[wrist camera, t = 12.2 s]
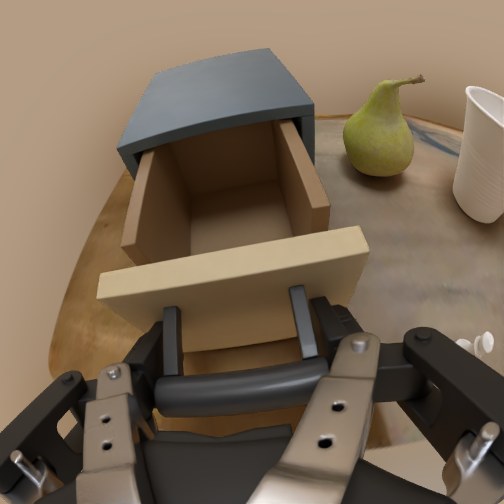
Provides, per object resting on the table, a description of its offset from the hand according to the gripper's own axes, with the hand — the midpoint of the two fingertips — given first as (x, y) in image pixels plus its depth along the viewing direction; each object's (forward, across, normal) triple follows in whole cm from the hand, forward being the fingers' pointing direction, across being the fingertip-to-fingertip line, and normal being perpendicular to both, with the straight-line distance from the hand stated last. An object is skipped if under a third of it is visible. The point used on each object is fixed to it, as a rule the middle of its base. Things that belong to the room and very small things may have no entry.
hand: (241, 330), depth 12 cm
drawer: (+7, 0, 0) cm, 7 cm away
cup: (+11, -24, -2) cm, 26 cm away
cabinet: (+17, 0, -7) cm, 18 cm away
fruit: (+15, -14, -6) cm, 21 cm away
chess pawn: (+2, -14, +7) cm, 16 cm away
